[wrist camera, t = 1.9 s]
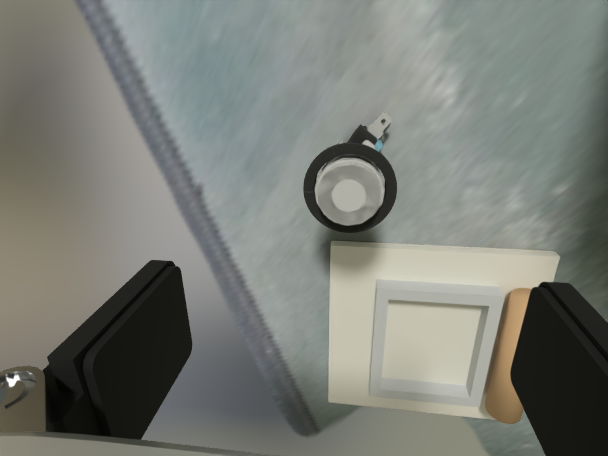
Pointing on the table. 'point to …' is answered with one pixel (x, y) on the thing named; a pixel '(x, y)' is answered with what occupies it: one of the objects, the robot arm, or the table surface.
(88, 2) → the table surface
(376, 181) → the push button
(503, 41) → the table surface
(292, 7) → the table surface
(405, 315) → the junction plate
